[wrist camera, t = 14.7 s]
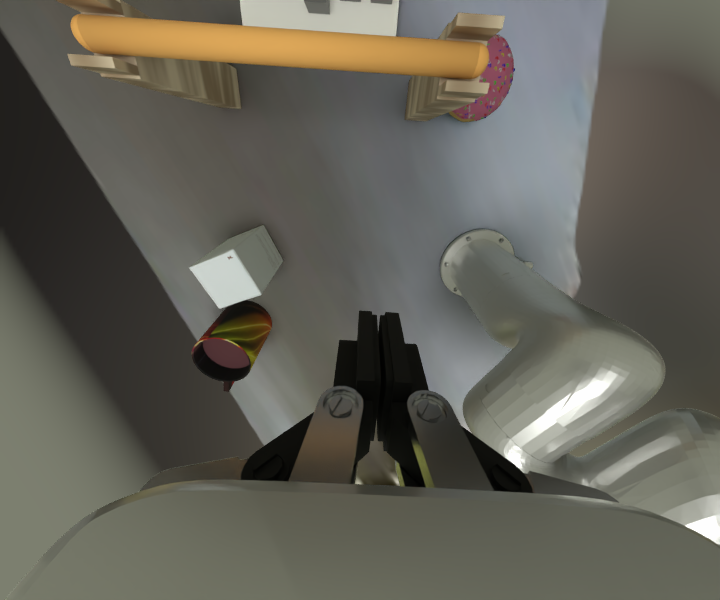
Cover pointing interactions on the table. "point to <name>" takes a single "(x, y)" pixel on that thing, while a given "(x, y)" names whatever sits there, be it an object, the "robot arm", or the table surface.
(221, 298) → the supplement box
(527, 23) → the table surface
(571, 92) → the table surface
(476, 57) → the orange cylindrical bar
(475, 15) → the wooden post rack
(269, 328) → the mug
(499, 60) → the cupcake
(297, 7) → the breaker panel
